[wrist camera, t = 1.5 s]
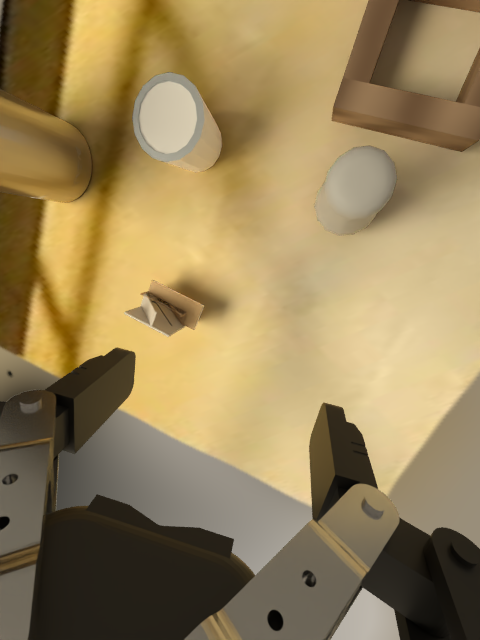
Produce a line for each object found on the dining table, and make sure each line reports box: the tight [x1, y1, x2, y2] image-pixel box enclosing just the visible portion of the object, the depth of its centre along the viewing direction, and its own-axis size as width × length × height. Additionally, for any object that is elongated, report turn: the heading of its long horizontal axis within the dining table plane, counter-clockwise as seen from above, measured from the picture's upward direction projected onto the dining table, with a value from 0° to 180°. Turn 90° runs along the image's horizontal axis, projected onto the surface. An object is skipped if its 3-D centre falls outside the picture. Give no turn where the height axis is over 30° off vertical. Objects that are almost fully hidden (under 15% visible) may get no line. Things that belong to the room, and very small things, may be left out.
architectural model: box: [124, 280, 204, 337], centre depth 34 cm, size 3×7×7 cm, turn 66°
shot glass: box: [132, 72, 222, 172], centre depth 29 cm, size 7×7×7 cm
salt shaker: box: [314, 146, 397, 235], centre depth 24 cm, size 6×6×13 cm
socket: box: [332, 0, 480, 152], centre depth 25 cm, size 12×12×3 cm
